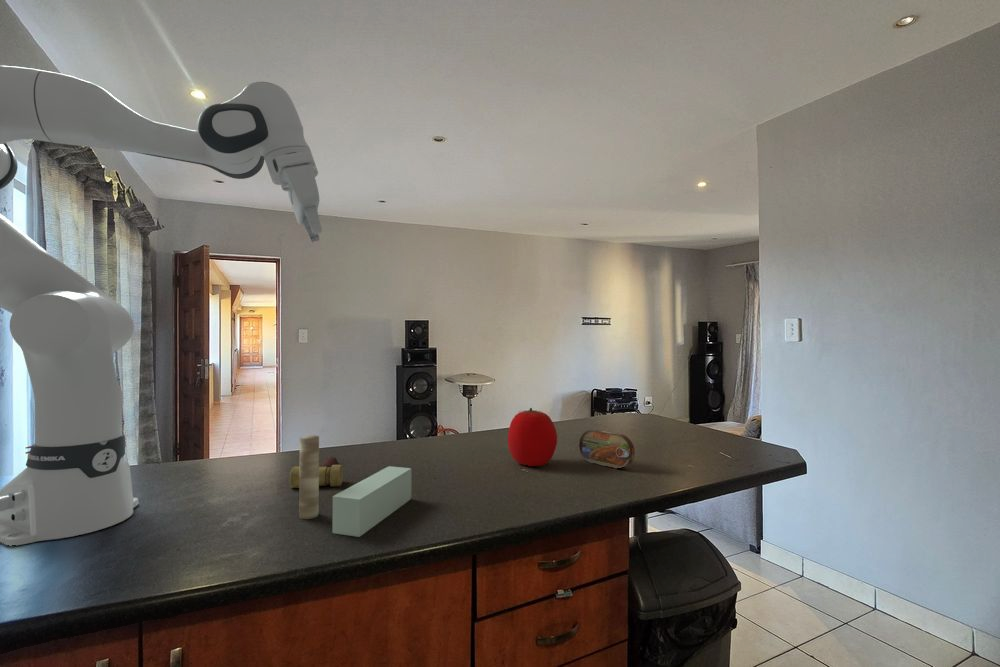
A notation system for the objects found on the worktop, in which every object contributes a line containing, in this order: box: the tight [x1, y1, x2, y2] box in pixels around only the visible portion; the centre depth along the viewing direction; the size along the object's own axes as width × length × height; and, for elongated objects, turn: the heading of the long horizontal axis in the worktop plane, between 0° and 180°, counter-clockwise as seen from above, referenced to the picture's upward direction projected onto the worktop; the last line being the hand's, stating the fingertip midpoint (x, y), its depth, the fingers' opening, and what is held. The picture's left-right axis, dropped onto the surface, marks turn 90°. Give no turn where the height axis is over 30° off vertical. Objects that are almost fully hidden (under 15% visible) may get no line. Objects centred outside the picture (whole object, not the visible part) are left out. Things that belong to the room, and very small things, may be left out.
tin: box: [578, 429, 636, 468], centre depth 117 cm, size 15×3×8 cm, turn 43°
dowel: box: [298, 434, 320, 520], centre depth 83 cm, size 3×3×14 cm
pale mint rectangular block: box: [331, 465, 412, 538], centre depth 84 cm, size 5×18×6 cm, turn 164°
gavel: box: [289, 456, 344, 489], centre depth 108 cm, size 21×5×10 cm
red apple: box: [507, 407, 558, 467], centre depth 117 cm, size 13×11×14 cm
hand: (316, 237), depth 95 cm, fingers open, 8 cm apart
